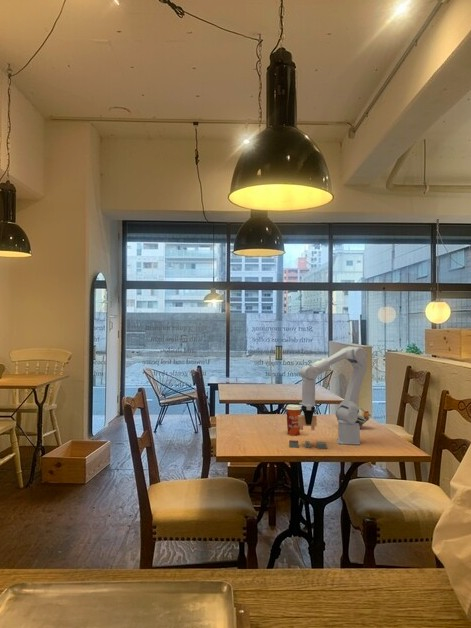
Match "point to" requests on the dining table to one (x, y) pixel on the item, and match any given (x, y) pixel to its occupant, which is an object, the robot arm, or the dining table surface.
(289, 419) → the paper cup
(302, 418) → the tan rectangular block
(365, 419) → the lucky cat figurine
